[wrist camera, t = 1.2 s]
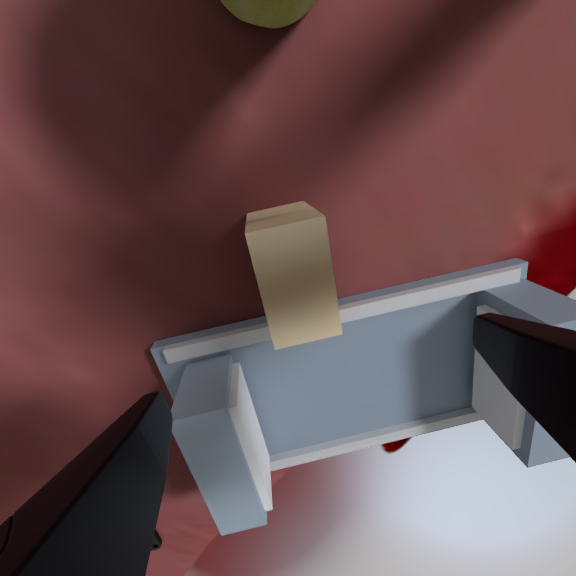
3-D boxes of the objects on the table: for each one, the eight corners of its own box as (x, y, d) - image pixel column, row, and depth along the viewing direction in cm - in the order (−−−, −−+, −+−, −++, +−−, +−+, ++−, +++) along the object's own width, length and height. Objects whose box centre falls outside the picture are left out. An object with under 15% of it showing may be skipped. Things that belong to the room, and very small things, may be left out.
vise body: (501, 397, 26) (574, 465, 20) (210, 468, 26) (197, 560, 20) (516, 257, 21) (619, 293, 15) (154, 341, 21) (114, 412, 15)
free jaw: (270, 454, 24) (274, 522, 20) (227, 464, 24) (221, 535, 19) (237, 351, 20) (233, 406, 16) (186, 363, 20) (167, 422, 16)
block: (318, 289, 21) (342, 334, 15) (268, 300, 21) (274, 350, 15) (303, 200, 18) (325, 215, 13) (246, 213, 18) (244, 233, 13)
